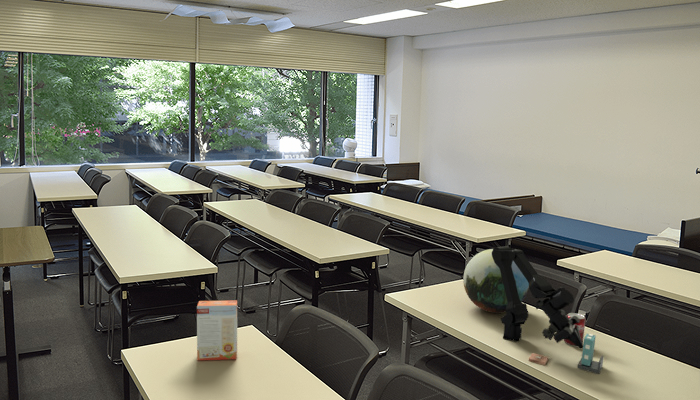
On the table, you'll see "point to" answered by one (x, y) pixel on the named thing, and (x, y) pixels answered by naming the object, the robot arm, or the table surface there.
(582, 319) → the soda can
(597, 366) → the key two base
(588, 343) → the key two
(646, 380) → the table surface
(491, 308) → the decorative globe
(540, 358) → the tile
